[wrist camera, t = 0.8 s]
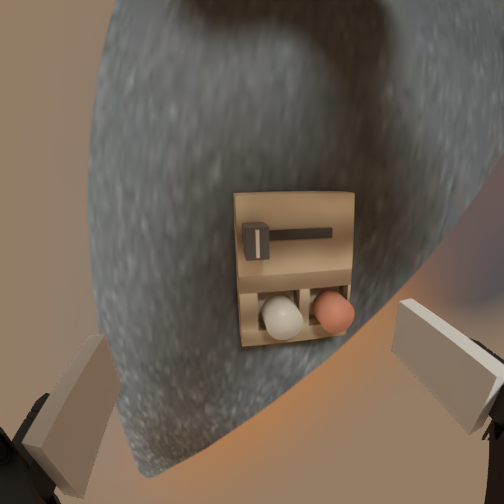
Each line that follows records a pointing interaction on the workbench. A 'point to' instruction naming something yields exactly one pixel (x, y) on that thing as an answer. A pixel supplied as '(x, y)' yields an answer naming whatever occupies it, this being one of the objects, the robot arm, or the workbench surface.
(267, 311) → the button
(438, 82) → the workbench surface
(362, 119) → the workbench surface
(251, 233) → the fader knob
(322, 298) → the button
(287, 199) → the console
